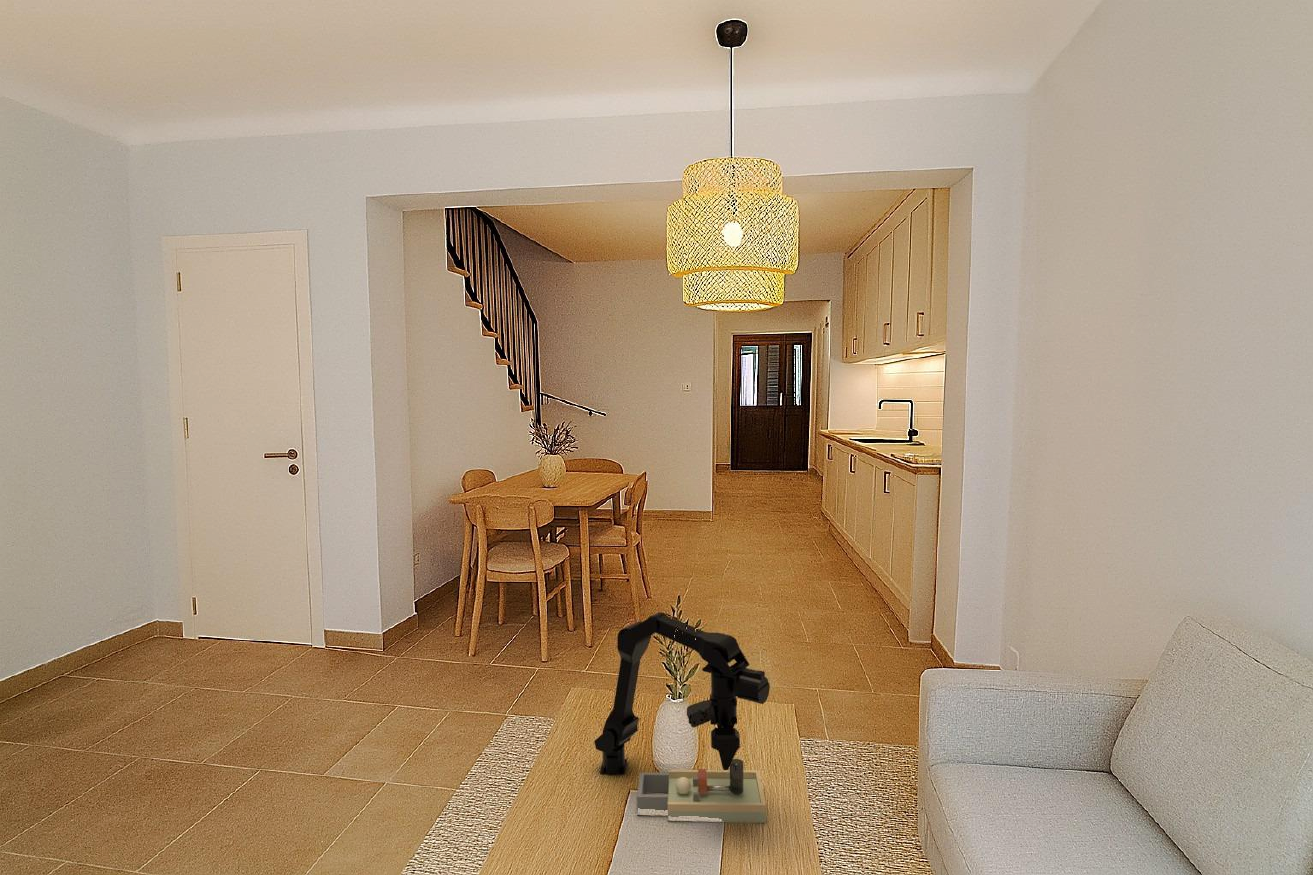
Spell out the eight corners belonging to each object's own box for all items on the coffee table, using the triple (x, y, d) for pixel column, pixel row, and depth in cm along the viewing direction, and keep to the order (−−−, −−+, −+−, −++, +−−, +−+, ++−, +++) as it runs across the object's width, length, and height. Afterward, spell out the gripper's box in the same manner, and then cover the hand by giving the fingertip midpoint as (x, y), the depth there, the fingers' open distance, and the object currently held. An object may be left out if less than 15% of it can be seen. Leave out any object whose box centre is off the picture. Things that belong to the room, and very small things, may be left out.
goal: (640, 790, 167) (640, 772, 166) (669, 790, 166) (668, 772, 166) (637, 815, 157) (637, 796, 156) (668, 815, 156) (667, 797, 156)
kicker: (698, 786, 163) (697, 758, 162) (742, 786, 162) (742, 758, 162) (698, 795, 159) (698, 766, 159) (744, 795, 159) (744, 766, 158)
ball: (675, 788, 163) (675, 773, 163) (690, 788, 163) (690, 773, 163) (675, 797, 159) (675, 782, 159) (691, 797, 159) (690, 782, 159)
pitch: (669, 785, 168) (669, 768, 168) (759, 786, 167) (759, 769, 167) (667, 821, 154) (667, 803, 154) (765, 822, 153) (765, 804, 153)
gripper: (689, 675, 166) (690, 737, 167) (687, 711, 147) (688, 781, 149) (735, 675, 165) (736, 738, 166) (739, 711, 147) (740, 782, 148)
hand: (724, 758), depth 157 cm, fingers open, 9 cm apart
